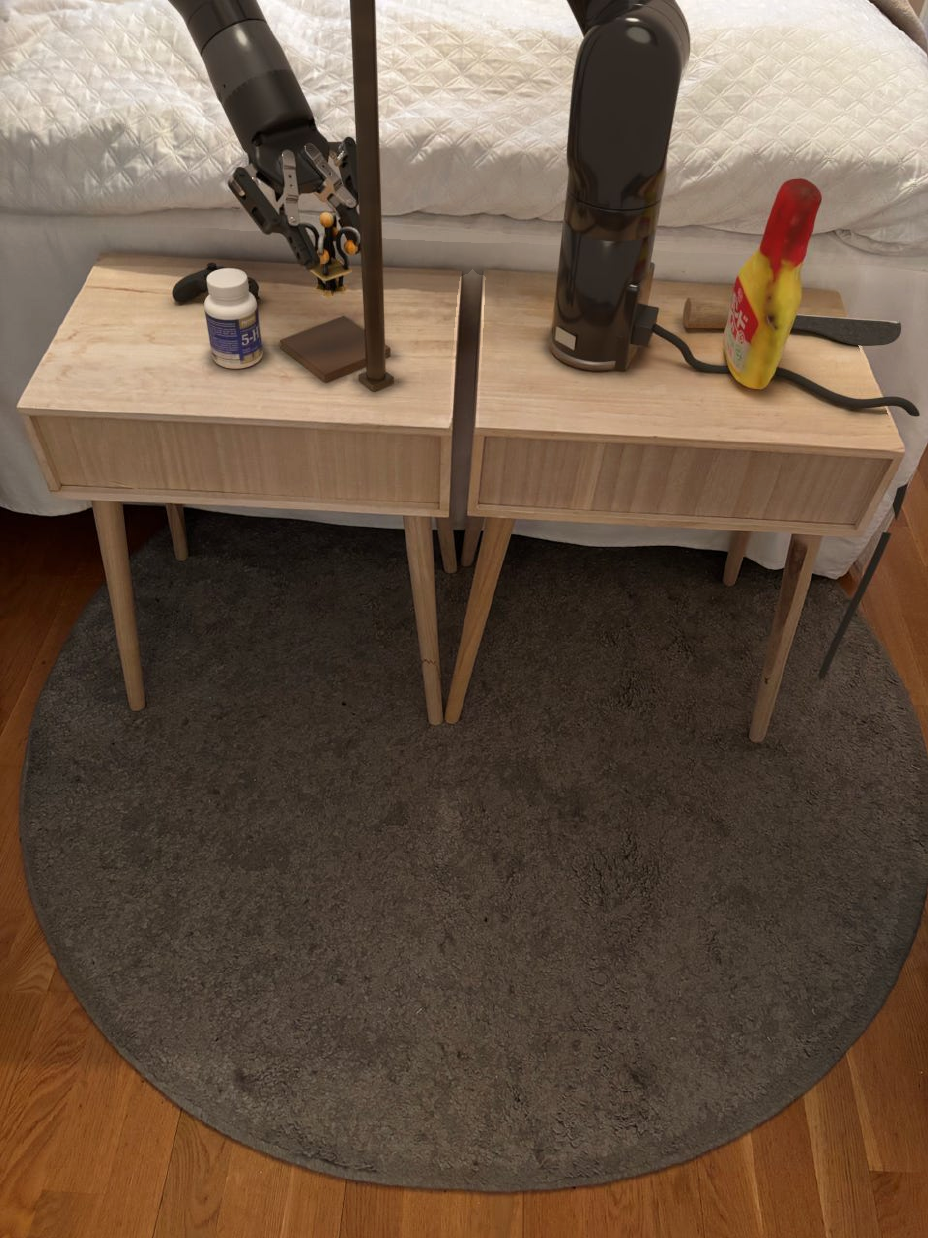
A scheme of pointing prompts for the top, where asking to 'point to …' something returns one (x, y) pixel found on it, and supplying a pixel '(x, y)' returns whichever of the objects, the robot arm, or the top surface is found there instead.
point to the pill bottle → (232, 319)
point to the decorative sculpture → (332, 255)
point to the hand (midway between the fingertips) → (338, 257)
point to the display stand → (341, 339)
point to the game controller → (203, 285)
